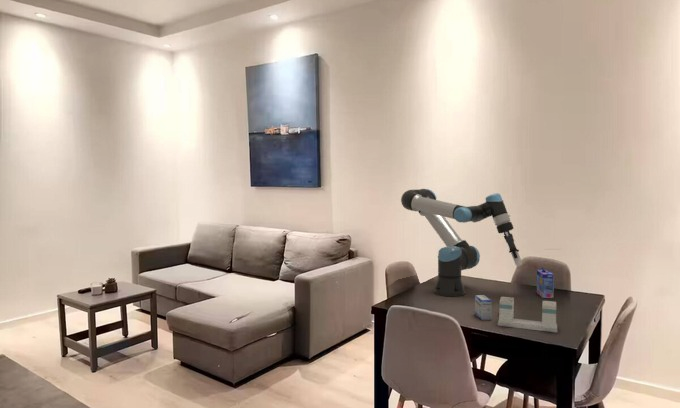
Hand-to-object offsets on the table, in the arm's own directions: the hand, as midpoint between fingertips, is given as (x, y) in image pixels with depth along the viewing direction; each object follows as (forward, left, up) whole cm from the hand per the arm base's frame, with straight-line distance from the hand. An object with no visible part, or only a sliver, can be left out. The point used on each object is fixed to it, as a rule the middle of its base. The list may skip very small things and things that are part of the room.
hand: (519, 265), depth 224 cm
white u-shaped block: (+5, -38, -17) cm, 42 cm away
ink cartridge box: (+11, +14, -17) cm, 25 cm away
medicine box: (-13, -33, -18) cm, 40 cm away
